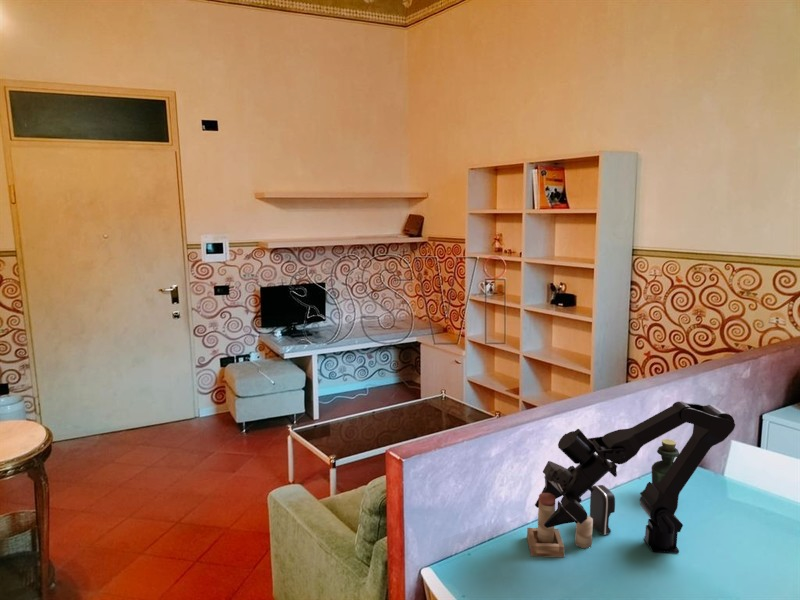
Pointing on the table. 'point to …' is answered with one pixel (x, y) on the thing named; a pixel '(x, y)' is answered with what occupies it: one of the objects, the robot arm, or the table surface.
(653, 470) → the potion bottle
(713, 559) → the table surface
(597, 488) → the battery charger
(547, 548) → the light brown square frame
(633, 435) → the robot arm
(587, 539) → the short pin
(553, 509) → the long pin
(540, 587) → the table surface
